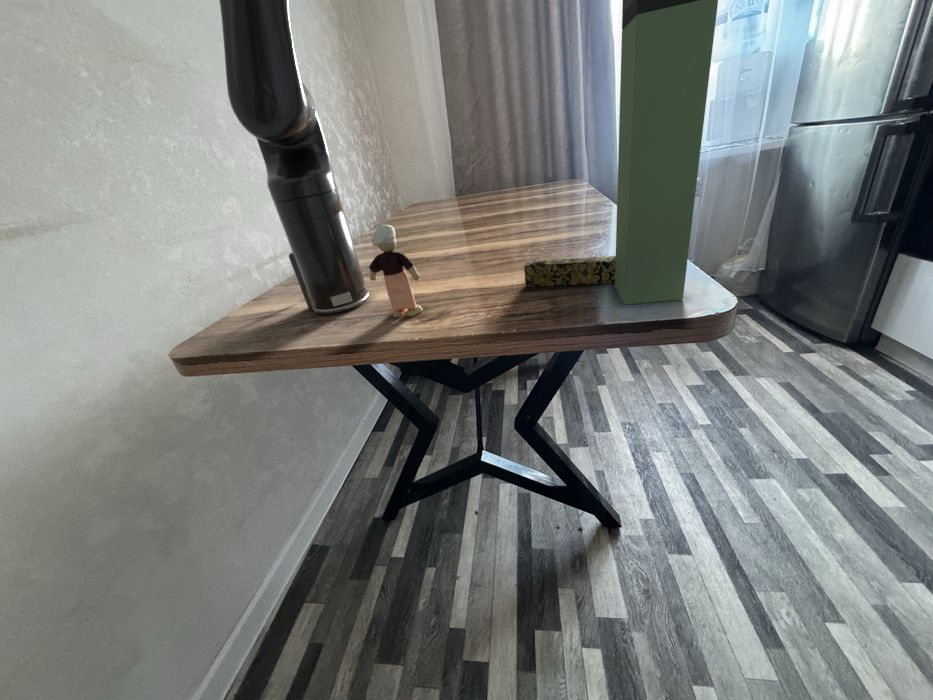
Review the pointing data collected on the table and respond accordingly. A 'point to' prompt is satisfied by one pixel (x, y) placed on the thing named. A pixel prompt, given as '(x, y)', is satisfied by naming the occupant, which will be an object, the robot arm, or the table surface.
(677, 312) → the table surface
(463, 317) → the table surface
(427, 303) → the table surface
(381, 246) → the grandmother figurine
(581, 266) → the decorative block
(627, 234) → the tall green rectangular column
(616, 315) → the table surface
